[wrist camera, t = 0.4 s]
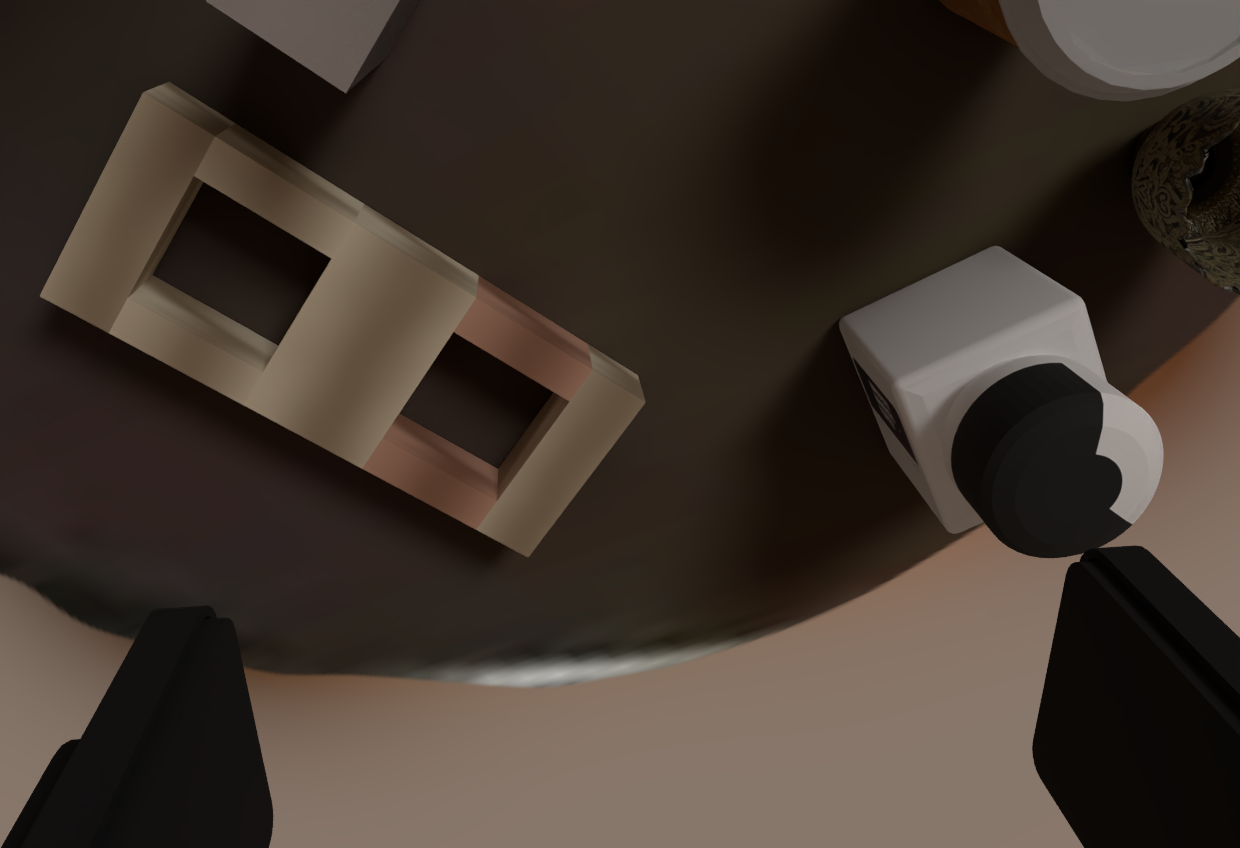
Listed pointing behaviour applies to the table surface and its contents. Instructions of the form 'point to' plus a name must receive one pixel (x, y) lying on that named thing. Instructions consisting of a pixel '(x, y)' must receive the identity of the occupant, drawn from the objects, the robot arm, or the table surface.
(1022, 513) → the container
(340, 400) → the block with square holes
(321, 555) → the table surface
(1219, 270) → the cup
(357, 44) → the peg
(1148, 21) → the disposable coffee cup
